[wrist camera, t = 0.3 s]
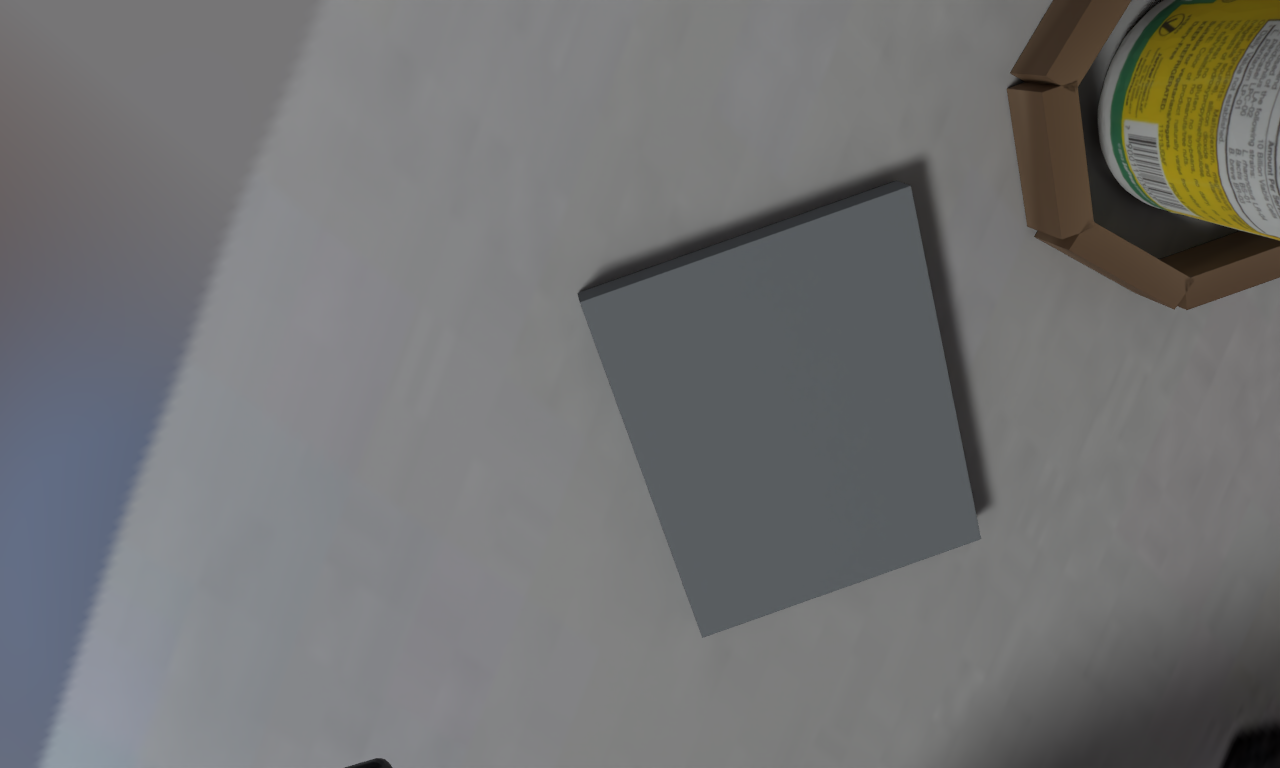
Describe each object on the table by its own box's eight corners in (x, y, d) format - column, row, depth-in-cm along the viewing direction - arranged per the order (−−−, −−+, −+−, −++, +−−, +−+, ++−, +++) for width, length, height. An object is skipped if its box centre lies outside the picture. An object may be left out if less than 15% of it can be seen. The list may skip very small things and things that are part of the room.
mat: (967, 524, 25) (981, 539, 24) (696, 619, 25) (702, 637, 24) (896, 180, 21) (910, 185, 21) (577, 292, 21) (579, 302, 21)
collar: (1374, 213, 23) (1428, 224, 22) (1043, 330, 23) (1076, 348, 22) (1377, -179, 20) (1442, -194, 18) (987, -42, 20) (1023, -47, 18)
